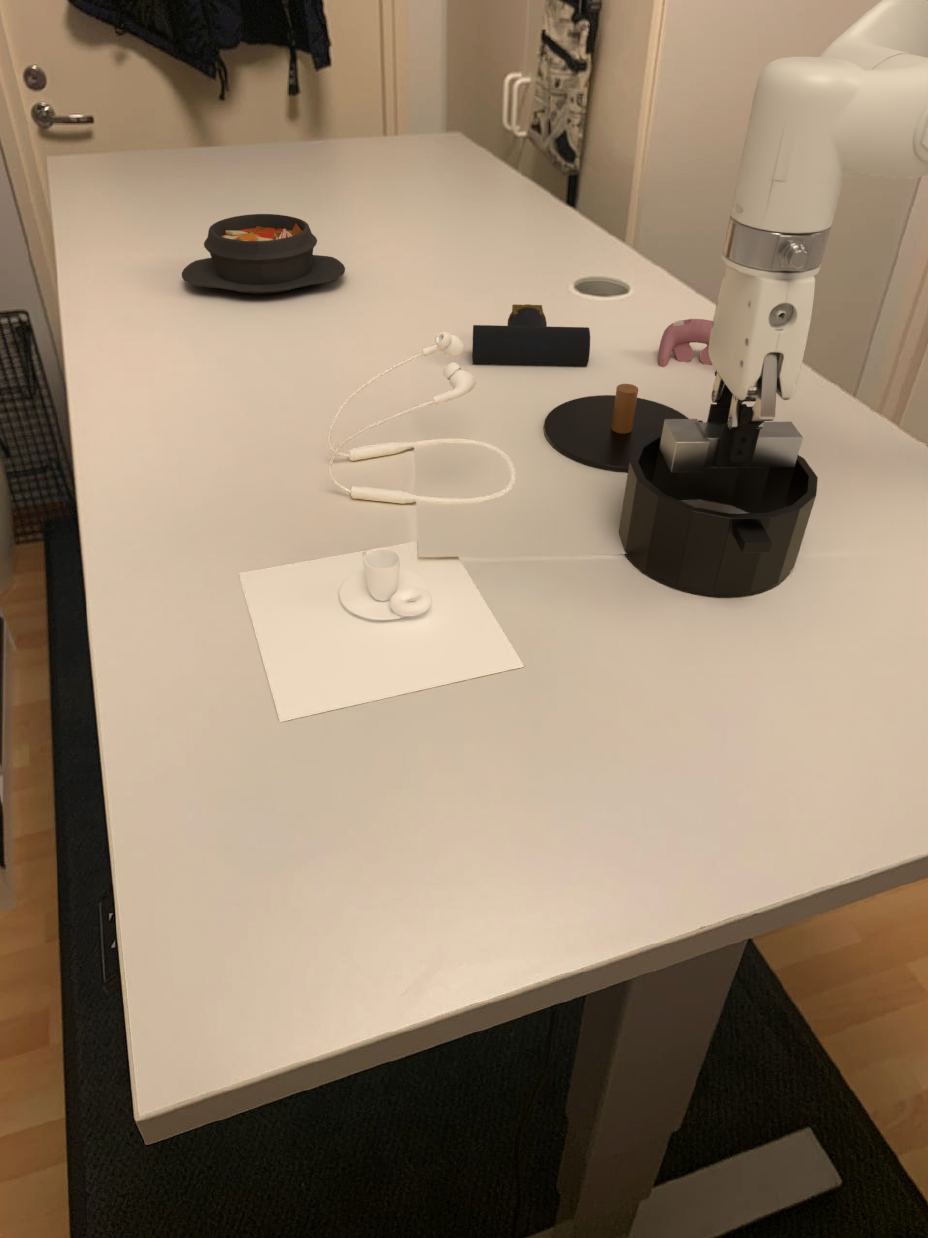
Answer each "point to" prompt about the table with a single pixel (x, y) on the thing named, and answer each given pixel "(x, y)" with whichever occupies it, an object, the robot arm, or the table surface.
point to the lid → (606, 427)
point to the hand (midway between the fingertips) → (726, 453)
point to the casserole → (261, 256)
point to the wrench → (698, 442)
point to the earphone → (461, 386)
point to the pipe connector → (530, 341)
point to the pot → (714, 523)
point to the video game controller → (685, 340)
